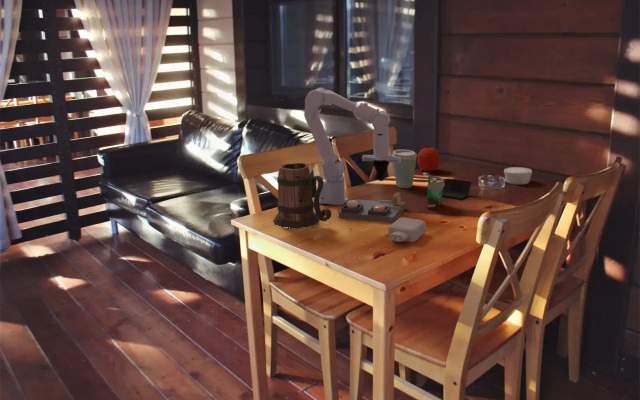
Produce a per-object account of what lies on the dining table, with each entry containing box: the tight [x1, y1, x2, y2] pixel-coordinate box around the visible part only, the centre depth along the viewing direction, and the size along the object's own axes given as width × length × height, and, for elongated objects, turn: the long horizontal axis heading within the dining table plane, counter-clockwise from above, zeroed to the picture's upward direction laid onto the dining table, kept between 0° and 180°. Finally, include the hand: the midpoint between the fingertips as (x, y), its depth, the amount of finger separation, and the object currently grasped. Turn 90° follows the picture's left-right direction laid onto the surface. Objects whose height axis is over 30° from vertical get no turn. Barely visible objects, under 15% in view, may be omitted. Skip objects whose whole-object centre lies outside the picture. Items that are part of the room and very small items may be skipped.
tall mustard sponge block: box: [392, 191, 406, 207], centre depth 214 cm, size 3×5×4 cm, turn 158°
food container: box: [426, 175, 445, 210], centre depth 219 cm, size 12×6×10 cm, turn 168°
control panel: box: [338, 198, 406, 224], centre depth 214 cm, size 20×17×4 cm
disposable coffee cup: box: [390, 149, 418, 189], centre depth 245 cm, size 11×11×15 cm
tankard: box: [272, 162, 332, 229], centre depth 204 cm, size 24×17×20 cm
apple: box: [417, 147, 441, 172], centre depth 270 cm, size 10×10×12 cm
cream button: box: [346, 199, 358, 209], centre depth 211 cm, size 4×4×2 cm
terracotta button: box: [374, 205, 385, 212], centre depth 207 cm, size 4×4×2 cm
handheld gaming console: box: [442, 178, 472, 201], centre depth 232 cm, size 12×7×10 cm
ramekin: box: [503, 166, 533, 186], centre depth 247 cm, size 11×11×5 cm
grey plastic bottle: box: [387, 217, 427, 243], centre depth 187 cm, size 5×9×15 cm
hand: (381, 180), depth 222 cm, fingers closed
